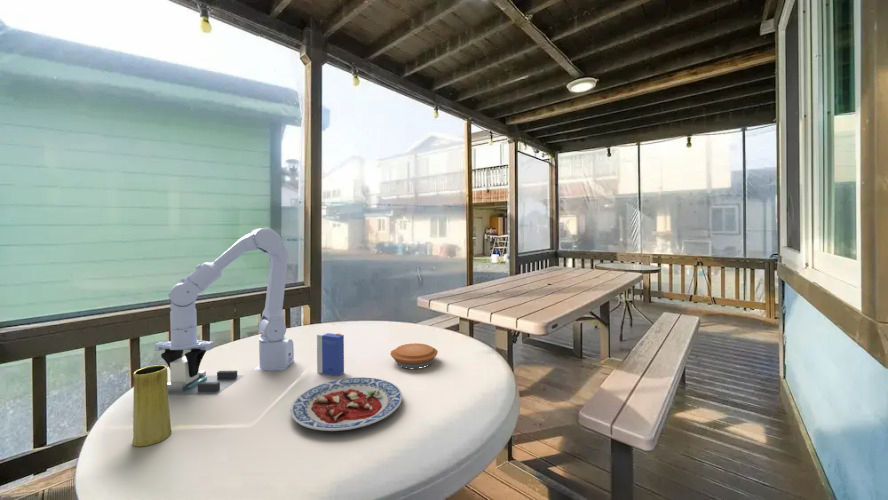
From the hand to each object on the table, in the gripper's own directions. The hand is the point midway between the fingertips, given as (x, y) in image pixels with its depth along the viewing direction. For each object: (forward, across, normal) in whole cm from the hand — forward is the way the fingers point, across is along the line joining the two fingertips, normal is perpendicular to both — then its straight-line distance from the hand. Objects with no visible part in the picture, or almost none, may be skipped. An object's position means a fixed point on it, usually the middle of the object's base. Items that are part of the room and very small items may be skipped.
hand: (185, 375), depth 93 cm
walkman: (+3, +37, +9) cm, 38 cm away
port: (+2, 0, 0) cm, 2 cm away
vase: (+3, +11, -24) cm, 27 cm away
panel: (+3, +4, 0) cm, 5 cm away
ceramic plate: (+3, +48, -12) cm, 50 cm away
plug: (+1, 0, 0) cm, 1 cm away
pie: (+3, +62, +17) cm, 64 cm away
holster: (+2, +9, 0) cm, 9 cm away
